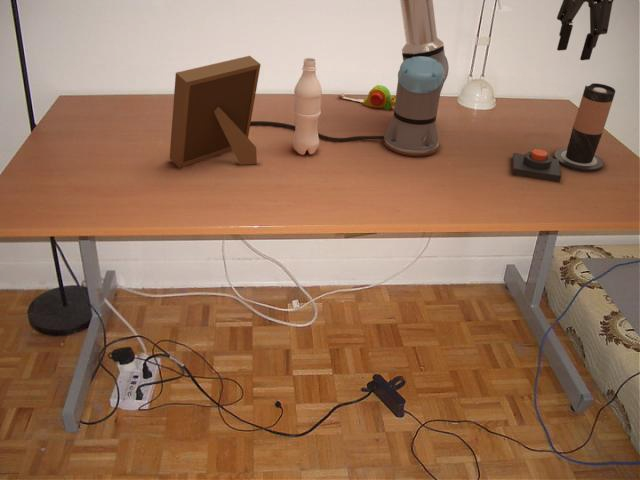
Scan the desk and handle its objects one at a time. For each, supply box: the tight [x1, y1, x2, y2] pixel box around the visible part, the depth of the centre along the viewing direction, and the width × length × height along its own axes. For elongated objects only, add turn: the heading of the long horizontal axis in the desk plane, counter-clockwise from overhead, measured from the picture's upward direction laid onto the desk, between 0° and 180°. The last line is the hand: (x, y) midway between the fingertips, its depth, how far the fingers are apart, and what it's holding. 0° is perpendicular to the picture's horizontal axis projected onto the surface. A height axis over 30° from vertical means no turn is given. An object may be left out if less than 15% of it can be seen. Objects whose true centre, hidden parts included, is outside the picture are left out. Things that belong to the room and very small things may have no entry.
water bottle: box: [291, 57, 323, 156], centre depth 167 cm, size 7×7×25 cm
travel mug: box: [566, 82, 616, 164], centre depth 172 cm, size 8×8×20 cm
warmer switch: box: [511, 150, 562, 183], centre depth 170 cm, size 12×10×4 cm
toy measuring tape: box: [338, 84, 396, 111], centre depth 203 cm, size 6×20×7 cm, turn 65°
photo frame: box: [169, 55, 261, 169], centre depth 159 cm, size 15×22×25 cm
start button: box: [531, 148, 548, 161], centre depth 169 cm, size 4×4×2 cm
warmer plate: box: [553, 147, 604, 173], centre depth 177 cm, size 13×13×1 cm
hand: (573, 54), depth 169 cm, fingers open, 8 cm apart
